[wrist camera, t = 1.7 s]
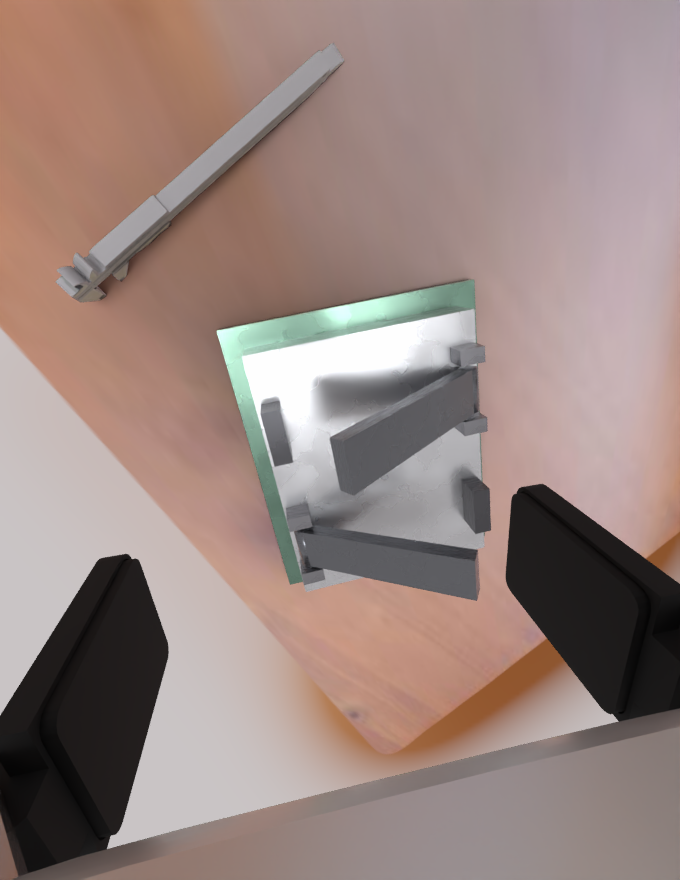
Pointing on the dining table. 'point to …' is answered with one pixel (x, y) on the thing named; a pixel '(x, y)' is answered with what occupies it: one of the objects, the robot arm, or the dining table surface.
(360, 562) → the strap
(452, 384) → the strap
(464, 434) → the base
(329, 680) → the dining table surface
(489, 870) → the robot arm
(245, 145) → the caliper
